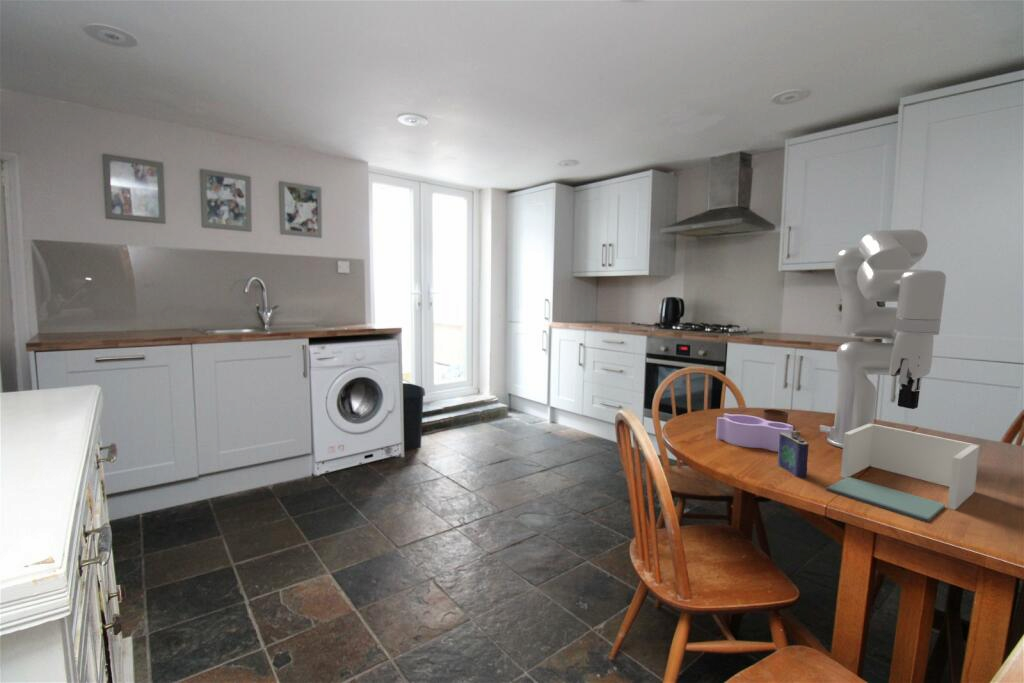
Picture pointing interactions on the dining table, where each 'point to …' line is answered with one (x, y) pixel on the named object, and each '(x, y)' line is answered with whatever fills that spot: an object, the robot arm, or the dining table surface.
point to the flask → (793, 454)
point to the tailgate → (887, 498)
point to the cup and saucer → (776, 416)
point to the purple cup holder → (750, 431)
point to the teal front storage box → (913, 458)
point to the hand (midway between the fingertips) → (907, 407)
